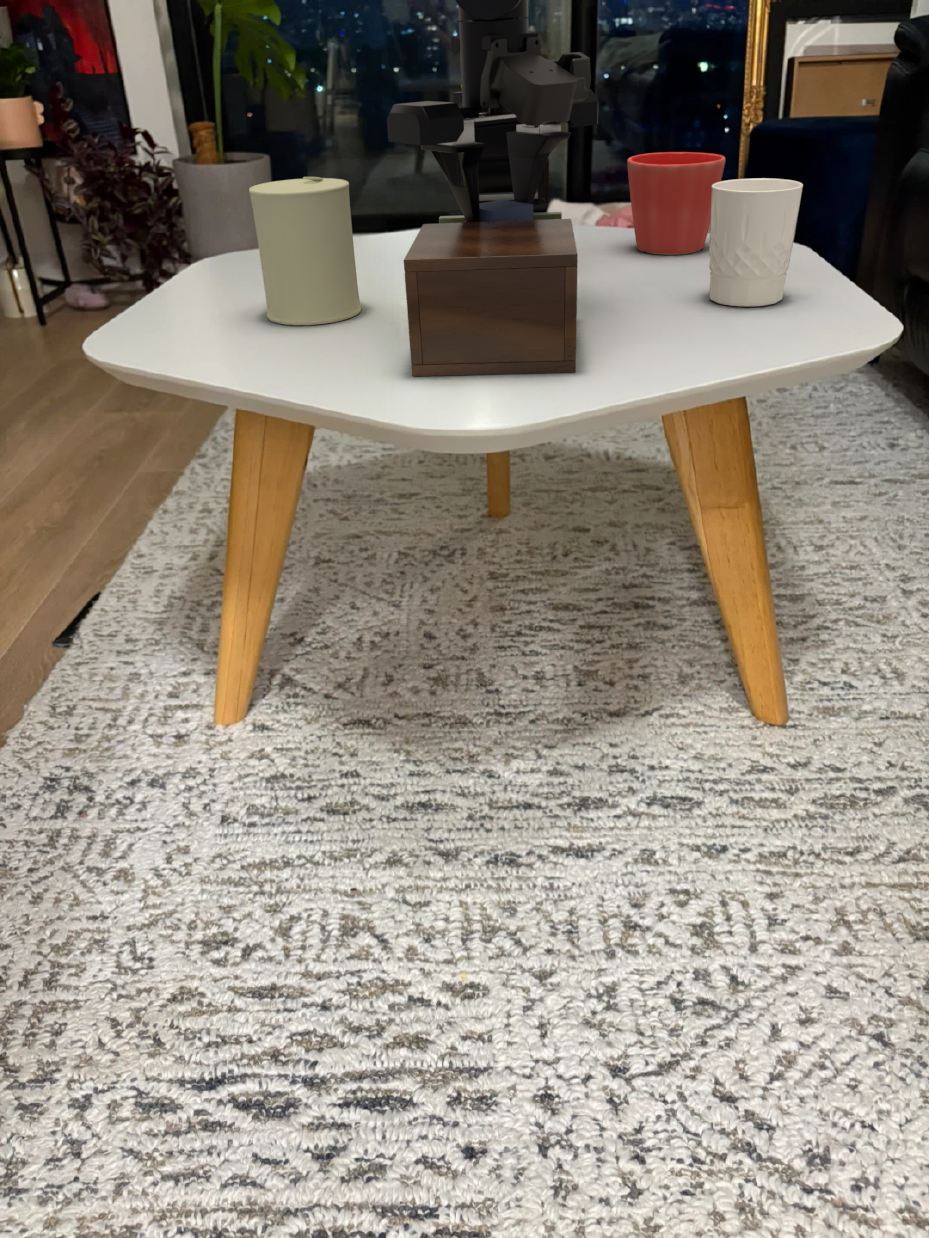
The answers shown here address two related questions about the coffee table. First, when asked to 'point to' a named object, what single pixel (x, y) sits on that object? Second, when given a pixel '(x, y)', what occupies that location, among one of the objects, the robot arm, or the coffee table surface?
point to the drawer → (535, 217)
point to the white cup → (751, 239)
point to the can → (306, 250)
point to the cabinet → (492, 298)
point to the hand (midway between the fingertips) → (498, 223)
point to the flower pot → (672, 199)
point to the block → (505, 211)
